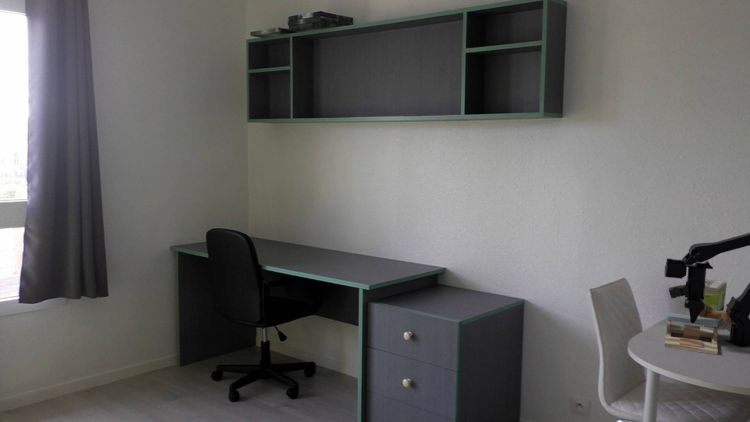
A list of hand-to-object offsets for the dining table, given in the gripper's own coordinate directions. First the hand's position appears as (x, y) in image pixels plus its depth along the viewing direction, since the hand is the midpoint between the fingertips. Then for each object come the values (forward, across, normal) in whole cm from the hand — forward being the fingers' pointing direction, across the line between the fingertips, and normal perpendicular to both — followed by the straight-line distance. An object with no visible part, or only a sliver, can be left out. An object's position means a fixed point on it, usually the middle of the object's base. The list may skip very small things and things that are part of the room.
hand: (692, 322), depth 229 cm
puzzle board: (+6, +3, 0) cm, 6 cm away
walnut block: (+6, +1, 0) cm, 6 cm away
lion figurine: (+6, -19, +8) cm, 22 cm away
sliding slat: (+1, -3, 0) cm, 3 cm away
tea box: (+6, -30, +5) cm, 31 cm away
